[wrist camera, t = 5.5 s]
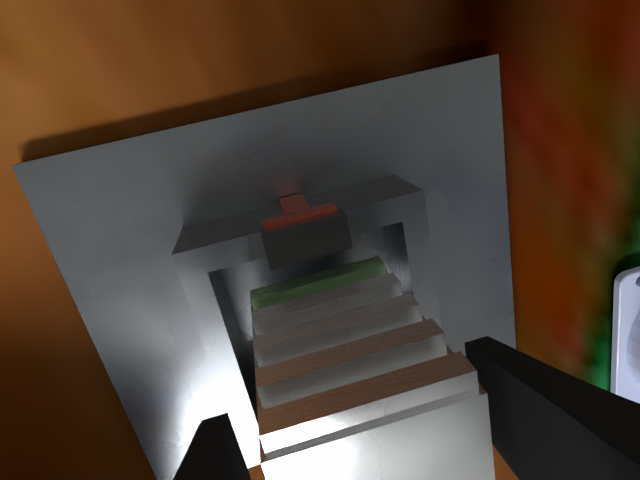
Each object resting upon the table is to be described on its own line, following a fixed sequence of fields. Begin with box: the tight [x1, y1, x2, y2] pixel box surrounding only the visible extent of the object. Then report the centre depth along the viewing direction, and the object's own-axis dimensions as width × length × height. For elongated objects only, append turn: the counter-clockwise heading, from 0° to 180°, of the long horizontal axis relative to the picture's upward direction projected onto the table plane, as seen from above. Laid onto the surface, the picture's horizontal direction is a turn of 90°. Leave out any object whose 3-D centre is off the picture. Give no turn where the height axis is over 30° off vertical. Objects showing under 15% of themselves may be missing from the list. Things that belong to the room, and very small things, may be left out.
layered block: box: [250, 256, 495, 480], centre depth 11 cm, size 4×4×6 cm
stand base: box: [11, 54, 516, 480], centre depth 15 cm, size 16×14×4 cm
